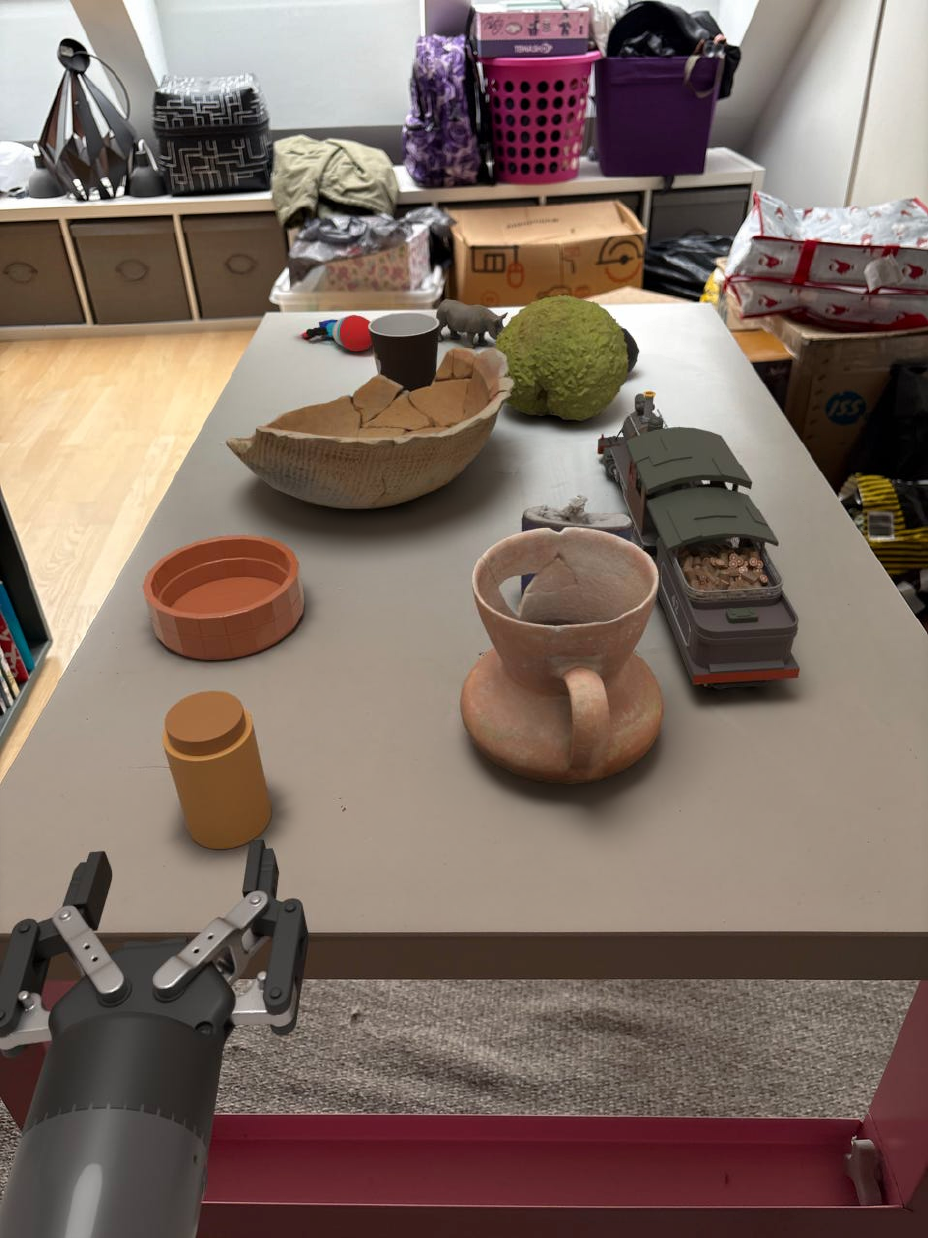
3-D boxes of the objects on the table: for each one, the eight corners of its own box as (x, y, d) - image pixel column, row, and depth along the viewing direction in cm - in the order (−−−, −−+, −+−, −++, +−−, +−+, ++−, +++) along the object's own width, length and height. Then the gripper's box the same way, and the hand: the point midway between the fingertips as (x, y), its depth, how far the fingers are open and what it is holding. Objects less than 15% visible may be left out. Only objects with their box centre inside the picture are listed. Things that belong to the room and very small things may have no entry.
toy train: (587, 449, 109) (591, 354, 103) (665, 444, 109) (674, 350, 103) (683, 709, 73) (699, 587, 66) (800, 701, 73) (828, 579, 66)
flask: (627, 601, 84) (635, 493, 78) (624, 621, 82) (632, 511, 76) (523, 592, 86) (522, 485, 80) (517, 611, 84) (516, 502, 78)
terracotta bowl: (141, 667, 79) (128, 623, 76) (169, 581, 90) (159, 539, 87) (299, 656, 80) (292, 612, 77) (309, 572, 90) (302, 530, 88)
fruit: (493, 442, 111) (461, 311, 109) (524, 436, 125) (497, 319, 122) (630, 407, 106) (600, 268, 103) (648, 405, 119) (621, 281, 117)
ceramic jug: (456, 668, 78) (448, 513, 69) (635, 657, 78) (648, 502, 70) (469, 839, 63) (461, 669, 55) (689, 825, 63) (714, 653, 55)
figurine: (592, 324, 120) (573, 297, 136) (578, 377, 123) (561, 345, 139) (649, 337, 121) (624, 308, 137) (634, 388, 124) (611, 355, 140)
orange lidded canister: (181, 852, 63) (149, 749, 57) (194, 790, 67) (166, 689, 62) (267, 846, 63) (243, 742, 58) (275, 784, 68) (253, 683, 62)
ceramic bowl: (312, 401, 118) (315, 282, 109) (522, 460, 114) (545, 341, 105) (184, 527, 96) (174, 390, 86) (439, 605, 92) (458, 471, 82)
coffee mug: (435, 417, 118) (431, 337, 112) (367, 414, 119) (359, 335, 114) (453, 381, 127) (450, 305, 121) (390, 379, 129) (383, 304, 123)
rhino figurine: (508, 358, 133) (507, 315, 130) (429, 341, 140) (426, 300, 136) (524, 349, 136) (524, 307, 132) (445, 333, 143) (444, 292, 139)
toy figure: (298, 348, 144) (351, 357, 133) (293, 314, 142) (347, 320, 131) (341, 340, 148) (396, 348, 137) (337, 307, 146) (392, 312, 135)
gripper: (273, 1101, 37) (302, 796, 50) (-101, 1133, 37) (27, 817, 50) (300, 1192, 42) (320, 889, 55) (-34, 1222, 41) (67, 909, 54)
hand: (180, 855), depth 52 cm, fingers open, 8 cm apart
